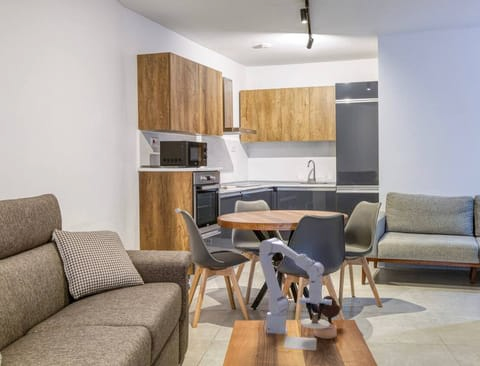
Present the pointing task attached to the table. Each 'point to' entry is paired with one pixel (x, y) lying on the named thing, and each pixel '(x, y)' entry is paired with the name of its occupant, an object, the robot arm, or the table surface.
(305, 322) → the lid
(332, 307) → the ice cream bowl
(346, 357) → the table surface
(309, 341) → the mat
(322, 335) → the bowl
